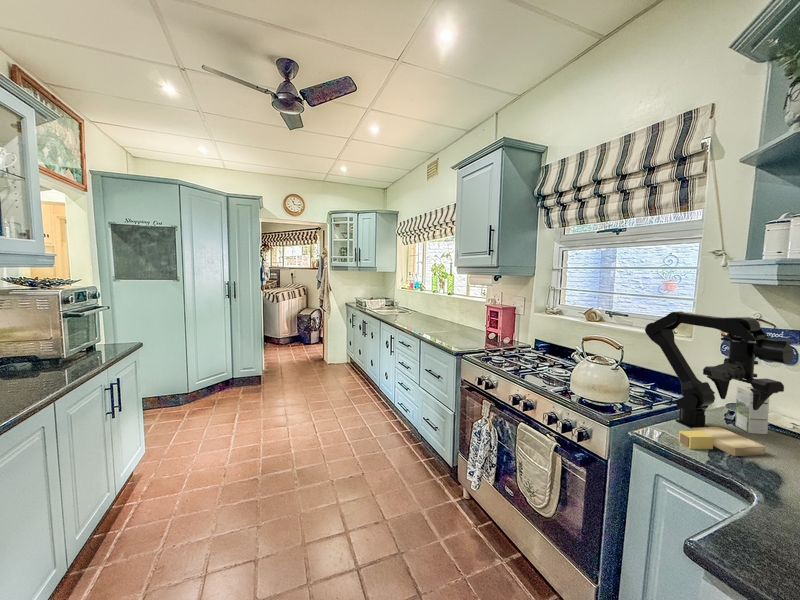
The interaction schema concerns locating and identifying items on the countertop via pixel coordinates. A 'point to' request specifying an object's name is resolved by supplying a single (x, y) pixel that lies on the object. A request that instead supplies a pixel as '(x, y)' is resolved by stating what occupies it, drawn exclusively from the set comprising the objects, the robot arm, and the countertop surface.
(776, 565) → the countertop surface
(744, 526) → the countertop surface
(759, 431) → the syrup box
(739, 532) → the countertop surface
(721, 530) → the countertop surface
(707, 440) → the mustard block
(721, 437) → the cutting board
